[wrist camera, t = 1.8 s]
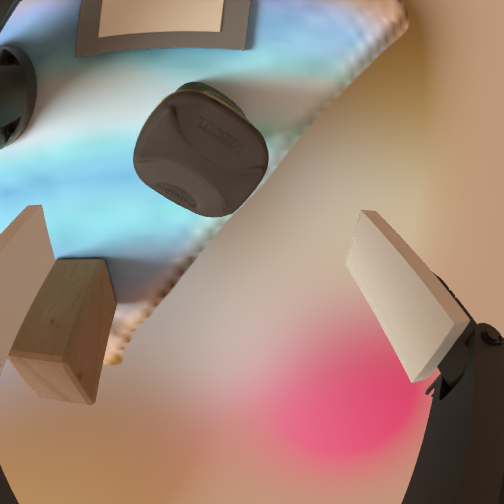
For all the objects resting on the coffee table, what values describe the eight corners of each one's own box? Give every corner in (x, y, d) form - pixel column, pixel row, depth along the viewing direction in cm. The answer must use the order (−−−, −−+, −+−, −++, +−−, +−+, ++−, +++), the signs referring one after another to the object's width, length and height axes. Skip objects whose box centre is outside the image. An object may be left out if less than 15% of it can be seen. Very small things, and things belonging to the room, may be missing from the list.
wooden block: (106, 255, 42) (68, 364, 26) (119, 304, 48) (97, 408, 31) (52, 256, 41) (1, 354, 24) (68, 303, 46) (36, 399, 30)
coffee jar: (152, 126, 33) (106, 177, 18) (189, 72, 30) (170, 71, 15) (216, 165, 37) (225, 244, 22) (255, 116, 34) (296, 158, 19)
